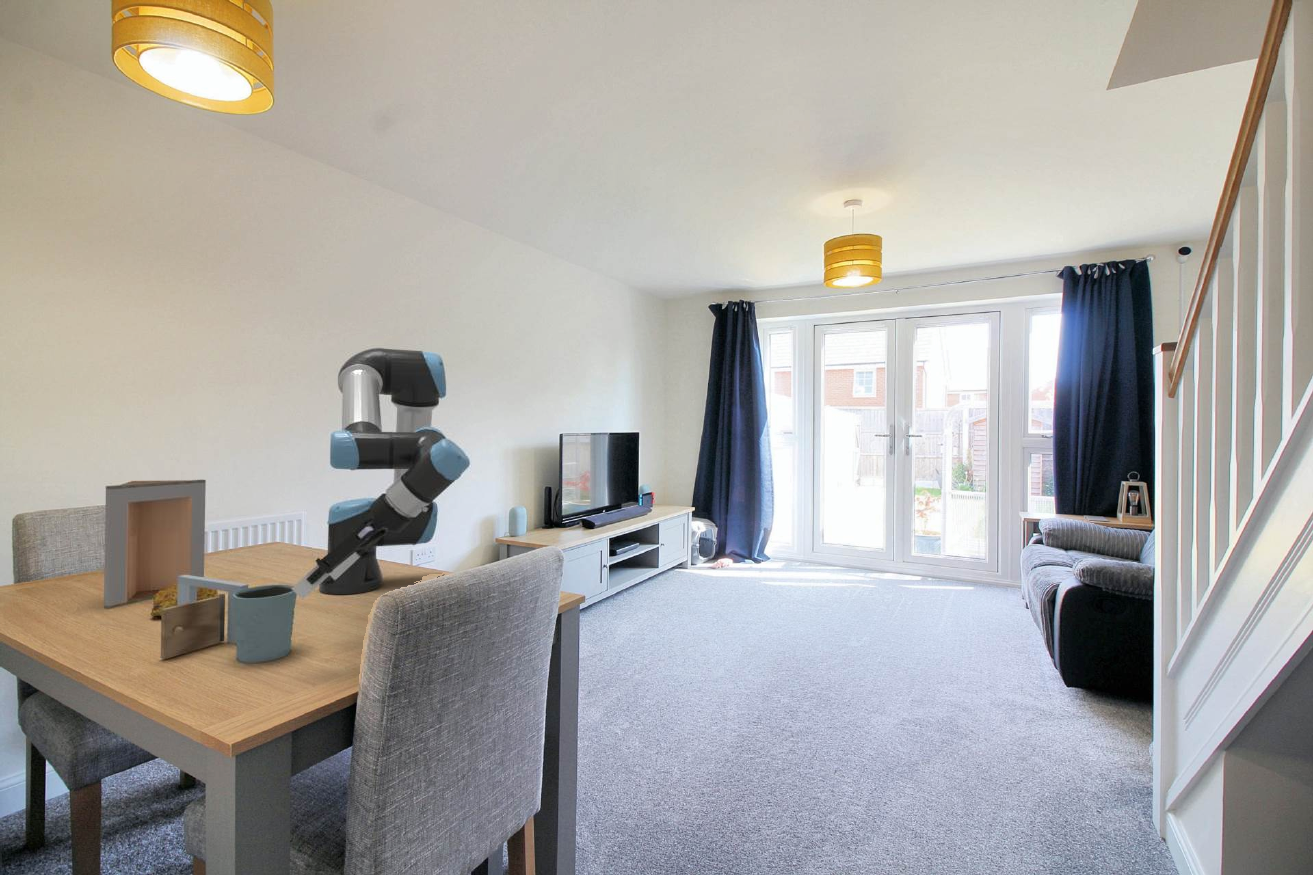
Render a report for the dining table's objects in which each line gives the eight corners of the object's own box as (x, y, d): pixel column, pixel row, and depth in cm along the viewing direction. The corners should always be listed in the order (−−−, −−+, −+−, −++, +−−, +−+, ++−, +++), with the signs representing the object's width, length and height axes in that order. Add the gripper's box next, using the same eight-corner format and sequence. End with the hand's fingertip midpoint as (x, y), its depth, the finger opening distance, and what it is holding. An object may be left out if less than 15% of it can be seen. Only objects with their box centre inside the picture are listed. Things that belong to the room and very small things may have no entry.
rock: (183, 637, 131) (142, 609, 127) (179, 633, 137) (140, 606, 133) (227, 595, 137) (190, 567, 134) (222, 593, 144) (186, 566, 140)
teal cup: (225, 667, 106) (226, 600, 106) (239, 647, 116) (240, 586, 115) (291, 660, 110) (292, 595, 110) (299, 641, 120) (300, 581, 119)
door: (222, 640, 118) (223, 593, 118) (229, 641, 117) (230, 594, 117) (160, 658, 109) (161, 607, 109) (167, 660, 108) (168, 609, 108)
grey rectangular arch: (247, 641, 119) (248, 584, 118) (239, 644, 117) (241, 586, 117) (184, 629, 124) (185, 574, 124) (176, 631, 123) (177, 576, 123)
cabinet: (108, 608, 136) (110, 486, 136) (81, 603, 139) (83, 484, 139) (203, 586, 156) (205, 479, 155) (178, 582, 159) (180, 477, 158)
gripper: (392, 530, 103) (298, 618, 101) (430, 510, 127) (355, 580, 126) (360, 499, 102) (265, 587, 100) (404, 485, 127) (329, 555, 125)
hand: (315, 583), depth 113 cm, fingers open, 13 cm apart
